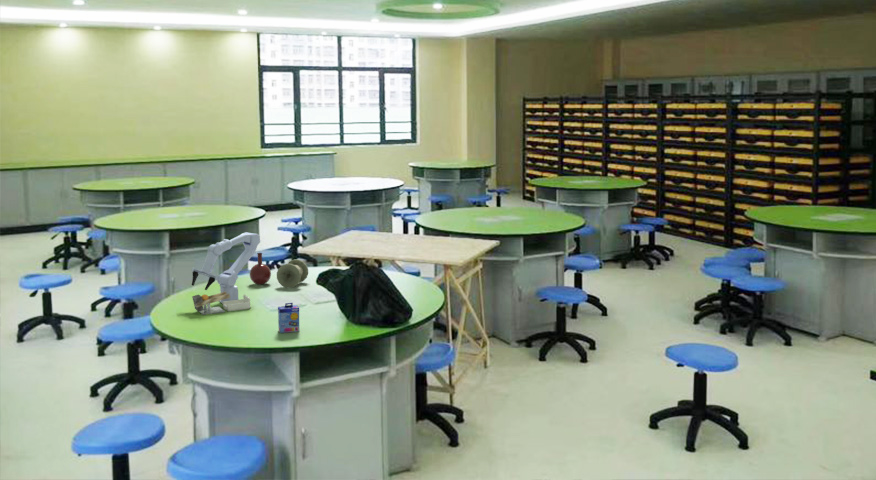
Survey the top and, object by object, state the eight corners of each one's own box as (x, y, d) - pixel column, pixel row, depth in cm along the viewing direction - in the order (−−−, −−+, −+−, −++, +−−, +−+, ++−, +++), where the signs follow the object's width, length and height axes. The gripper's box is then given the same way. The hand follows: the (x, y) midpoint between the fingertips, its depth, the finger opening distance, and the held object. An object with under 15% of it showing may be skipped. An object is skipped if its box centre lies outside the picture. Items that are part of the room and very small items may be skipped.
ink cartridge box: (280, 333, 368) (279, 304, 365) (277, 330, 373) (277, 301, 371) (300, 331, 371) (299, 302, 369) (297, 328, 376) (297, 300, 374)
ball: (208, 299, 411) (206, 292, 410) (210, 301, 408) (208, 294, 406) (201, 302, 409) (199, 295, 408) (203, 303, 406) (200, 296, 405)
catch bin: (245, 305, 425) (244, 294, 424) (250, 308, 417) (249, 297, 416) (223, 307, 419) (222, 297, 418) (227, 311, 410) (227, 300, 409)
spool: (285, 282, 487) (285, 259, 484) (308, 282, 485) (307, 259, 482) (277, 287, 470) (276, 263, 468) (300, 288, 468) (299, 264, 466)
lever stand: (219, 307, 419) (218, 297, 418) (224, 312, 408) (224, 302, 408) (196, 310, 412) (196, 300, 412) (202, 315, 402) (201, 304, 401)
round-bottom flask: (268, 286, 472) (267, 255, 469) (247, 286, 473) (246, 255, 470) (273, 282, 485) (272, 251, 482) (253, 282, 486) (251, 251, 483)
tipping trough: (198, 311, 404) (195, 298, 402) (192, 307, 414) (189, 294, 412) (231, 302, 412) (228, 289, 410) (225, 297, 422) (222, 285, 420)
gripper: (194, 258, 416) (185, 281, 413) (219, 267, 417) (210, 290, 413) (197, 261, 423) (187, 284, 420) (222, 270, 423) (212, 292, 420)
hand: (199, 287), depth 417 cm, fingers open, 7 cm apart
